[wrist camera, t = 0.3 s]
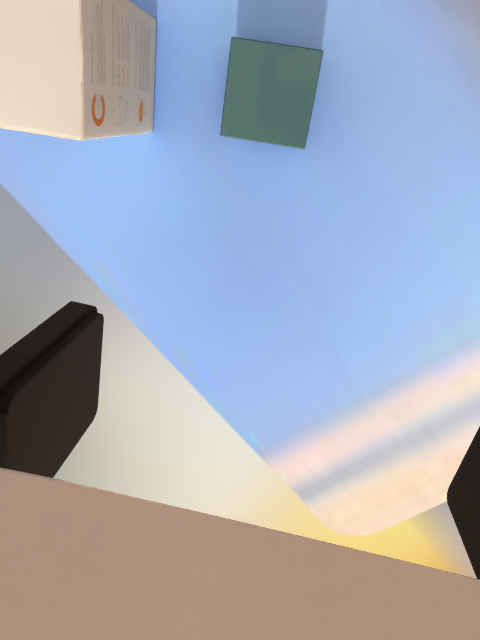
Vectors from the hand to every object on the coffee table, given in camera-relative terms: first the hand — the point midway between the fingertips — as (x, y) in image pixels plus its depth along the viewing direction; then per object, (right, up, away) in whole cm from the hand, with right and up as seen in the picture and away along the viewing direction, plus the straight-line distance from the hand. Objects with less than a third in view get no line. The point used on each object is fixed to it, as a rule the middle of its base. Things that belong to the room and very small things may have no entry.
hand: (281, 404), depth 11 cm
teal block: (+2, +19, +24) cm, 31 cm away
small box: (-11, +21, +25) cm, 34 cm away
